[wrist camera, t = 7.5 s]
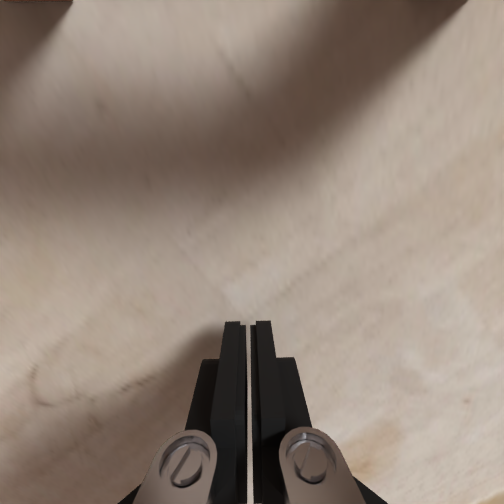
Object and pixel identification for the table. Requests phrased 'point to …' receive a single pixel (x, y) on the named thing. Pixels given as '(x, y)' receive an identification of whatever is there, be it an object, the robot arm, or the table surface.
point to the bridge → (38, 0)
